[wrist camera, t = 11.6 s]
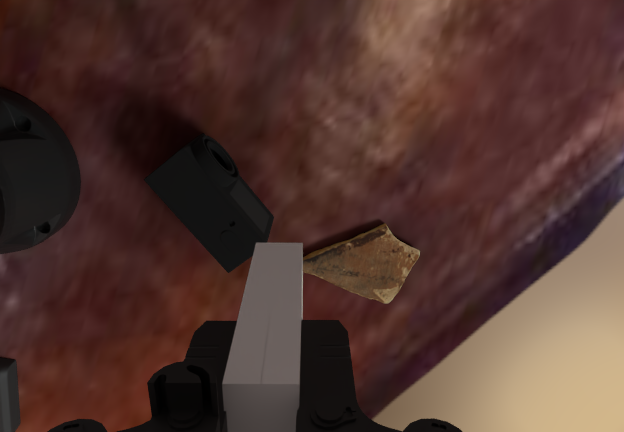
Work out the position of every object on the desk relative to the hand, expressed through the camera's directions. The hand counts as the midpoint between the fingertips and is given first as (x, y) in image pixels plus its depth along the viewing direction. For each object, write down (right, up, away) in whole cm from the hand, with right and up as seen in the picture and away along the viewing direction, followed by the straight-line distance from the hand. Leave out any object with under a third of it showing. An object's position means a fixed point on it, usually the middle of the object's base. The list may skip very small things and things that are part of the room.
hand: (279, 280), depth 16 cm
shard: (+6, -3, +33) cm, 33 cm away
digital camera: (-7, +5, +30) cm, 31 cm away
